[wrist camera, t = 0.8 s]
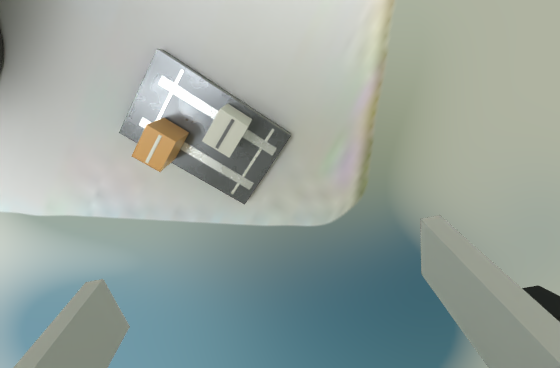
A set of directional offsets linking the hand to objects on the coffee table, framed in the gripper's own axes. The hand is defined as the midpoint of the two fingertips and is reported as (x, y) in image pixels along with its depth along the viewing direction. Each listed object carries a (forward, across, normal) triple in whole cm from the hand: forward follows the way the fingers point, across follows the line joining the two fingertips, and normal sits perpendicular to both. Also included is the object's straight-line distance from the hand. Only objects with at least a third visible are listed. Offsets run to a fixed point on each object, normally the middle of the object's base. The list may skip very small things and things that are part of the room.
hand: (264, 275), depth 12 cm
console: (+24, -7, +2) cm, 25 cm away
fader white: (+22, -4, +3) cm, 22 cm away
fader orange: (+22, -11, +3) cm, 25 cm away
